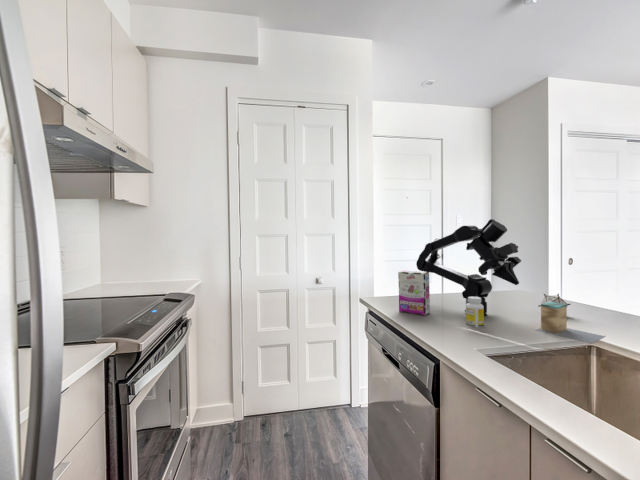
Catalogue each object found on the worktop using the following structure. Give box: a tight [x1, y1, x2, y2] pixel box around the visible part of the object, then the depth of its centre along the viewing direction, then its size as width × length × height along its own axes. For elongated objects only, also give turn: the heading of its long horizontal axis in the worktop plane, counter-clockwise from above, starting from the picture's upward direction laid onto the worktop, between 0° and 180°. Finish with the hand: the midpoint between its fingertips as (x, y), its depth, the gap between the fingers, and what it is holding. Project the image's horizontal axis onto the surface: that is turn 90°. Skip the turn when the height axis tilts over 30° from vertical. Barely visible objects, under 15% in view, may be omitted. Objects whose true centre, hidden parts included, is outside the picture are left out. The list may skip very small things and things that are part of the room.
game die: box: [538, 293, 572, 308], centre depth 113 cm, size 9×8×10 cm
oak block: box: [540, 302, 568, 333], centre depth 96 cm, size 4×6×8 cm
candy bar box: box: [397, 270, 431, 316], centre depth 122 cm, size 11×5×16 cm, turn 49°
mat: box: [535, 327, 606, 344], centre depth 93 cm, size 14×10×1 cm
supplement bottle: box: [465, 297, 485, 328], centre depth 103 cm, size 5×5×10 cm
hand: (517, 284), depth 105 cm, fingers closed
